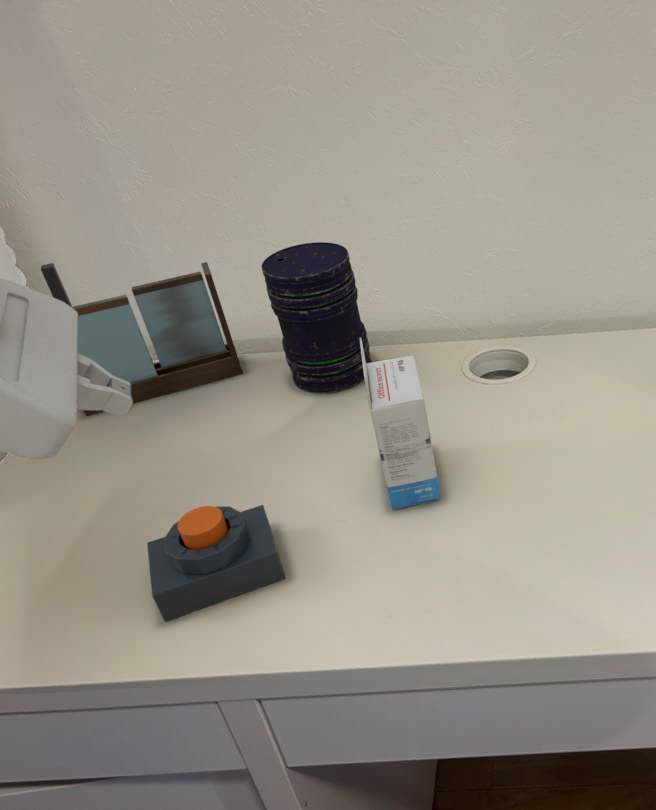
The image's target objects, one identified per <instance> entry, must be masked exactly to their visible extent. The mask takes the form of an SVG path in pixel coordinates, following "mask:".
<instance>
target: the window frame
mask: <svg viewBox="0 0 656 810" xmlns="http://www.w3.org/2000/svg"><path fill="white" fill-rule="evenodd" d="M200 265H201V268H202V271H195V272H192V273H188V274H182V275H179V276H174V277H170V278H169V277H168V278H166V279H161V280H157V281H152V282H148V283H144V284H139V285H135V286H131V292H132V294H133V297H134V300H135V302H136V306H137V309H138V310H139V312H140V315H141V319H142V321H143V323H144V325H145V329H146V330H147V331H146V332H147V333H148V336H149V338H150V341H151V343H152V346H153V349H154V352H155V354H156V356H157V359H158V361H156V362H153V364H154V366H155V369H156V371H157V374H158V376H155V377H152V378H148V379H144V380H140V381H137V382H133V383H130V384H131V390H132V398H133V404H136V403H140V402H143V401H147V400H151V399H153V398H157V397H162V396H165V395H168V394H172V393H176V392H179V391H183V390H186V389H190V388H193V387H197V386H198V387H199V386H201V385H204V384H208V383H212V382H216V381H219V380H220V381H221V380H223V379H227V378H230V377H234V376H238V375H241V374H243V373H244V372H243V368H242V365H241V363H240V359H239V356H238V353H237V349H236V347H235V344H234V341H233V337H232V335H231V332H230V331H231V330H230V328H229V324H228V322H227V320H226V316H225V313H224V310H223V307H222V306H223V305H222V303H221V301H220V297H219V294H218V291H217V288H216V284H215V282H214V279H213V275H212V272H211V269H210V267H209V263H208V262H207V261H205V262H201V263H200ZM202 272H203V273H202ZM203 274H204V277H205V280H204V277H203ZM205 281H206V282H207V283H205ZM206 284H207V286H206ZM207 287H208V288H207ZM208 289H209V292H210V294H209V293H208ZM209 295H210V296H211V298H210V296H209ZM211 299H212V301H213V303H212V301H211ZM213 305H214V307H215V310H214V307H213ZM215 311H216V313H215ZM216 314H217V316H216ZM217 317H218V320H219V322H218V320H217ZM219 323H220V326H219ZM220 327H221V329H222V332H221V329H220ZM222 333H223V335H222ZM223 336H224V338H225V340H224V338H223ZM225 342H226V344H225ZM83 412H84V415H85V416H86V417H87V416H91V415H96V414H100V413H103V412H104V411H103V410H83Z"/></svg>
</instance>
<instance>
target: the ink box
mask: <svg viewBox="0 0 656 810" xmlns="http://www.w3.org/2000/svg"><path fill="white" fill-rule="evenodd" d="M360 347H361V355H362V363H363V372H364V384H365V390H366V395H367V400H368V401H367V402H368V406H369V412H370V417H371V421H372V425H373V430H374V434H375V438H376V444H377V447H378V452H379V456H380V462H381V466H382V471H383V476H384V481H385V484H386V487H387V493H388V497H389V503H390V507H391V509H392V510H397V509H403V508H406V507H412V506H415V505H421V504H425V503H429V502H433V501H434V502H435V501H439V500H440V499H441V493H440V486H439V480H438V474H437V467H436V461H435V455H434V450H433V444H432V436H431V432H430V425H429V420H428V414H427V409H426V402H425V397H424V392H423V388H422V383H421V378H420V375H419V370H418V366H417V362H416V359H415V356H414V355H407V356H401V357H396V358H390V359H384V360H379V361H372V363H367V364H366V360H365V355H364V349H363V344H362V339H361V337H360Z"/></svg>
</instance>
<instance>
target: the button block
mask: <svg viewBox="0 0 656 810" xmlns="http://www.w3.org/2000/svg"><path fill="white" fill-rule="evenodd" d="M216 507H217V508H219V509H220V510H221V511H222V514H223V517H224V519H225V522H226V524H227V527H228V532H227V534H226V536H225V537H224V538H223V539H222V540H220V541H219V542H218V543H216V544H215V545H212V546H209V547H206V548H203V549H189V548H187V547H186V546H185V544H184V542H183V540H182V537H181V535H180V533H179V531H178V522H179V520H178V521H176V522H175V523H174V524H172V526H171V528H170V529H169V530H168V531H167V533H166V535H165V536H164V537H161V538H157V539H154V540H152V541H148V542H147V543H146V546H147V556H148V567H149V577H150V585H151V587H150V588H151V596H152V598H153V600H154V603H155V605H156V606H157V609H158V611H159V613H160V615H161V617H162V619H163V621H164V622H165V623H167V622H169V621H173V620H176V619H179V618H180V617H183V616H186V615H189V614H192V613H194V612H197V611H201V610H202V609H203V610H204V609H205V608H208V607H211V606H214V605H217V604H219V603H222V602H224V601H227V600H231V599H233V598H235V597H239V596H241V595H244V594H247V593H250V592H252V591H255V590H259V589H262V588H263V587H267V586H269V585H272V584H275V583H277V582H280V581H283V580H286V579H287V578H286V573H285V570H284V567H283V563H282V560H281V557H280V553H279V550H278V547H277V543H276V539H275V536H274V533H273V530H272V526H271V524H270V521H269V518H268V515H267V512H266V509H265V506H264V504H261V505H257V506H254V507H251V508H248V509H245V510H243V511H239V510H237V509H235V508H234V507H231V506H216Z"/></svg>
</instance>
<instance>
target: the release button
mask: <svg viewBox="0 0 656 810" xmlns="http://www.w3.org/2000/svg"><path fill="white" fill-rule="evenodd" d="M217 507H218V506H214V505H203V506H198V507H195V508H193V509H191V510H189V511H187V512H186V513H185V514H183V516H181V518H179V520H178V521H179V522H178V521H177V522H178V531H179V533H180V535H181V537H182V540H183V542H184V544H185V546H186V547H187V548H189V549H203V548H206V547H209V546H212V545H215V544H216V543H218V542H219V541H220V540H222V539H223V538H224V537H225V536H226V534H227V532H228V527H227V524H226V522H225V519H224V517H223V514H222V511H221V510H220V509H219V508H217Z"/></svg>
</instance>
